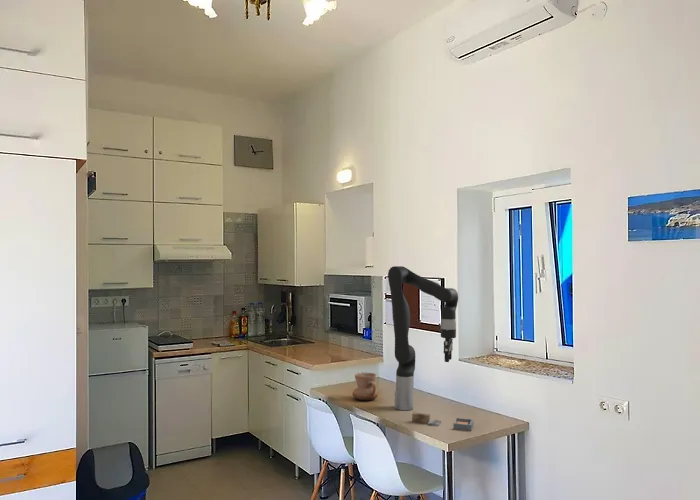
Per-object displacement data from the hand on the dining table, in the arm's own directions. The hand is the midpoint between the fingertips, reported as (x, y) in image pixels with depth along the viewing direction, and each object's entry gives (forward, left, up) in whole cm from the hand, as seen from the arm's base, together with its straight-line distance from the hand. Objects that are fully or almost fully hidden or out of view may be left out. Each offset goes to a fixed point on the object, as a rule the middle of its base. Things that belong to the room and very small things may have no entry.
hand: (448, 360), depth 274 cm
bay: (+9, -14, -28) cm, 33 cm away
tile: (+9, -14, -28) cm, 33 cm away
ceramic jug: (-49, +22, -28) cm, 61 cm away
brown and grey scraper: (-8, -14, -28) cm, 33 cm away
